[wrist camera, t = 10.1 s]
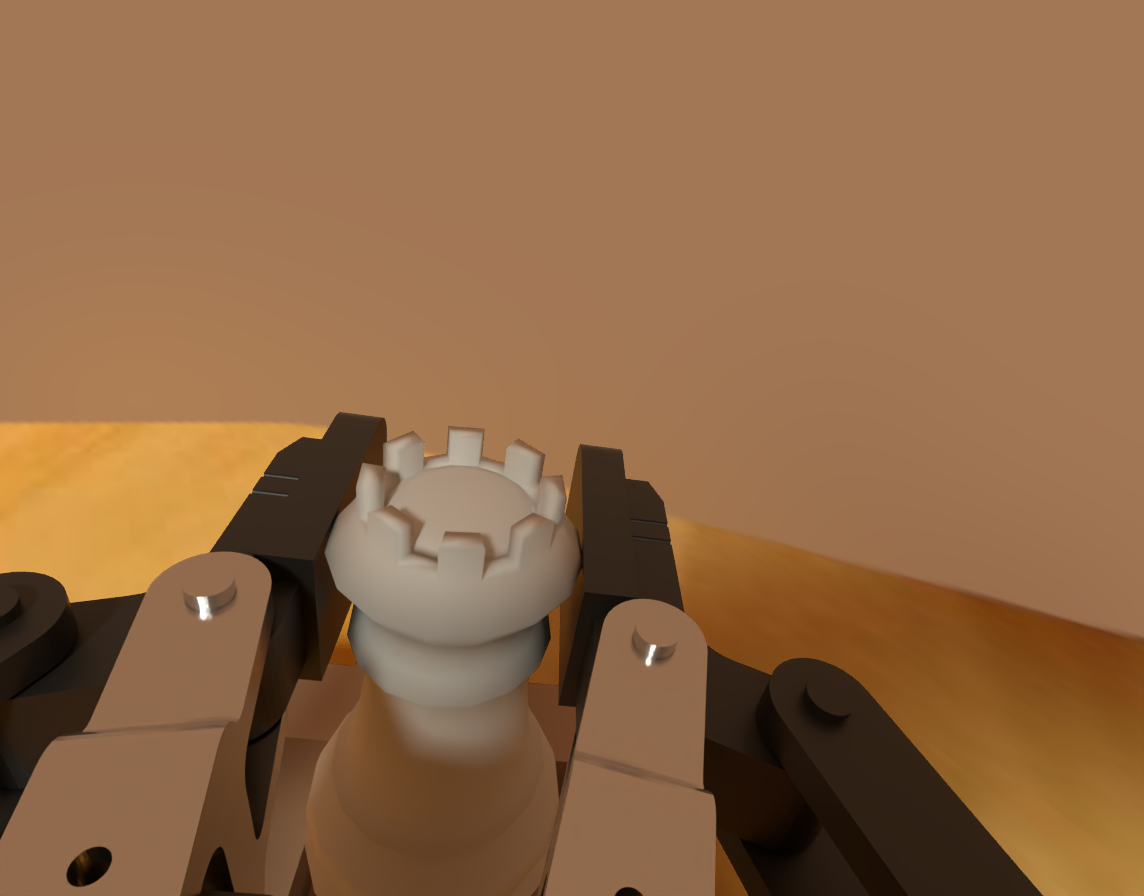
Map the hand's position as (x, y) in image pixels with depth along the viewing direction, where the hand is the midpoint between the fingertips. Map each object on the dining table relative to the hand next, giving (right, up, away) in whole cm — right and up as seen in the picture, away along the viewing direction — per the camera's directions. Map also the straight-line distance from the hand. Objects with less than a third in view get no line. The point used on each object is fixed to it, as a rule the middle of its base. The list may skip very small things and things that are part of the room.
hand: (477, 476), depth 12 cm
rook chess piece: (-1, -7, +1) cm, 7 cm away
